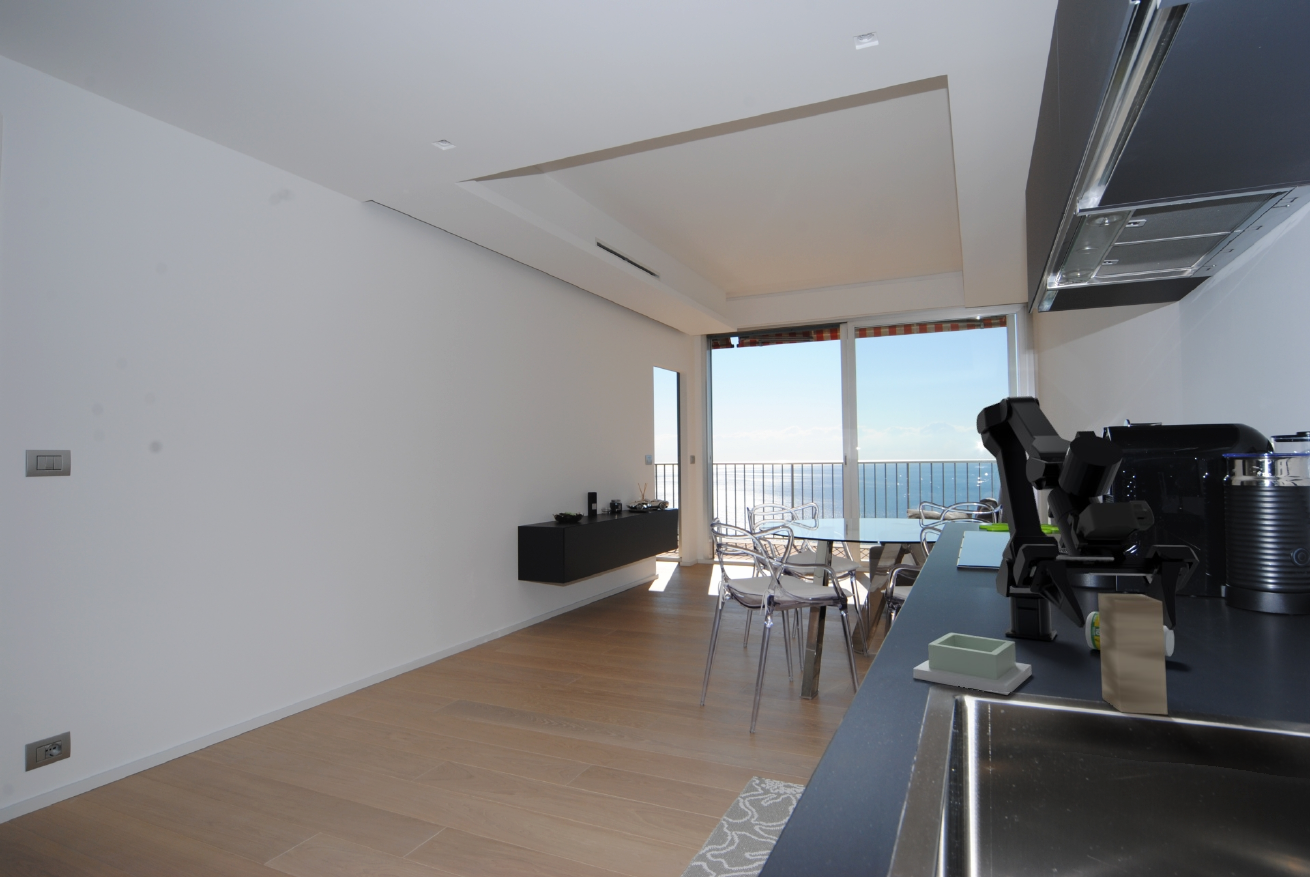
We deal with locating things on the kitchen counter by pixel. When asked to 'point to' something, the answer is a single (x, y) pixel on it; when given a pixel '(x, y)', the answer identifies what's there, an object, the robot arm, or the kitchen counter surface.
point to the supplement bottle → (1094, 634)
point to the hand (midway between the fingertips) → (1127, 626)
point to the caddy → (973, 663)
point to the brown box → (1132, 653)
